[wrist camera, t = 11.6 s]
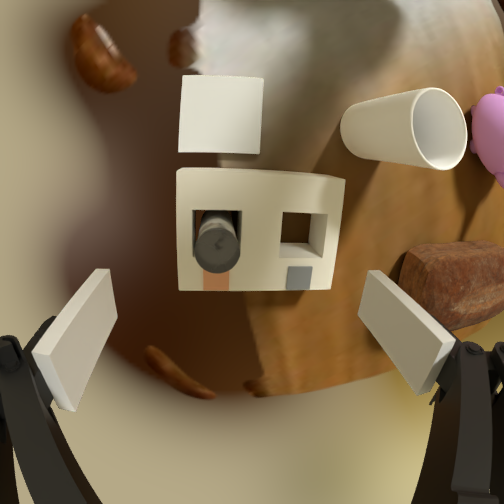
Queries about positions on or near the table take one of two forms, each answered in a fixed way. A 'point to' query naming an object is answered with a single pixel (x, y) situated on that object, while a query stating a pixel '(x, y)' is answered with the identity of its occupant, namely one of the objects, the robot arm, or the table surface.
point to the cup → (407, 129)
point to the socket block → (261, 227)
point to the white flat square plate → (220, 114)
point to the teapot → (489, 133)
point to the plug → (217, 242)
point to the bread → (456, 281)
